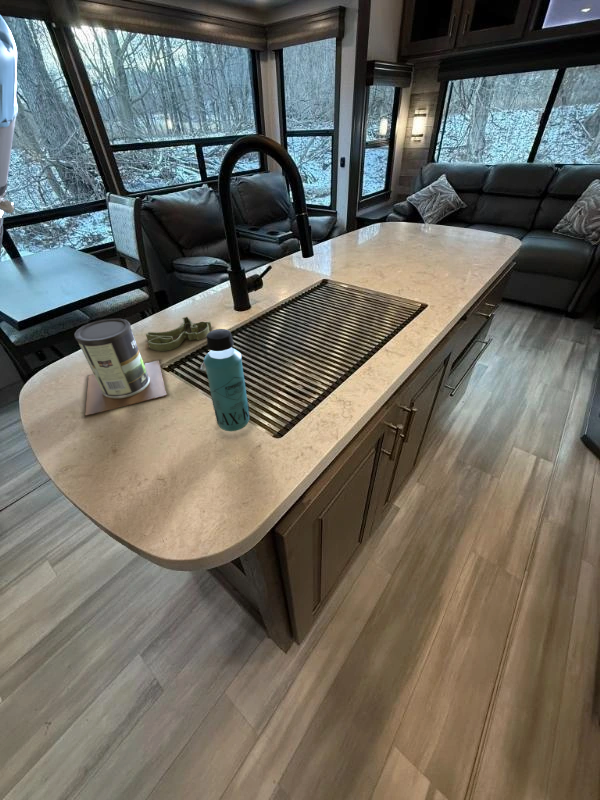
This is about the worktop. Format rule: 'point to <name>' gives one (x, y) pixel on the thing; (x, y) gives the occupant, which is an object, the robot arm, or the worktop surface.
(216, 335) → the beverage bottle
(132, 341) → the coffee can
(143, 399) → the cork mat
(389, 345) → the worktop surface
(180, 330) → the cookie cutter
